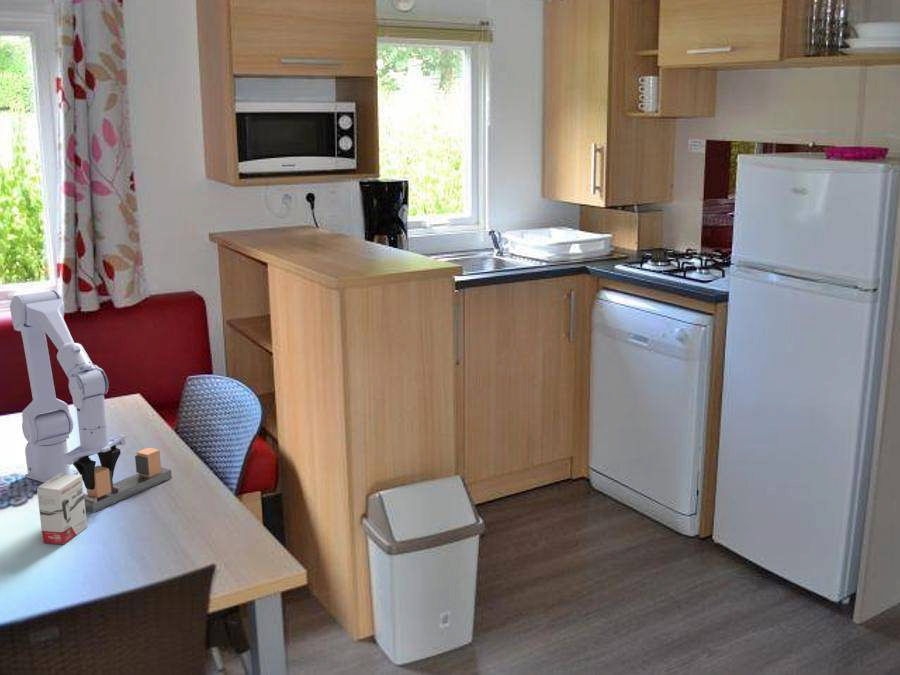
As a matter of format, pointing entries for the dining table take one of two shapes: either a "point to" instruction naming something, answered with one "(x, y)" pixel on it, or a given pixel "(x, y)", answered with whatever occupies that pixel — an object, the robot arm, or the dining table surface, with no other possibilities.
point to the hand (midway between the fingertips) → (99, 484)
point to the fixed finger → (148, 462)
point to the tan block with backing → (101, 482)
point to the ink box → (62, 508)
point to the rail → (125, 490)
